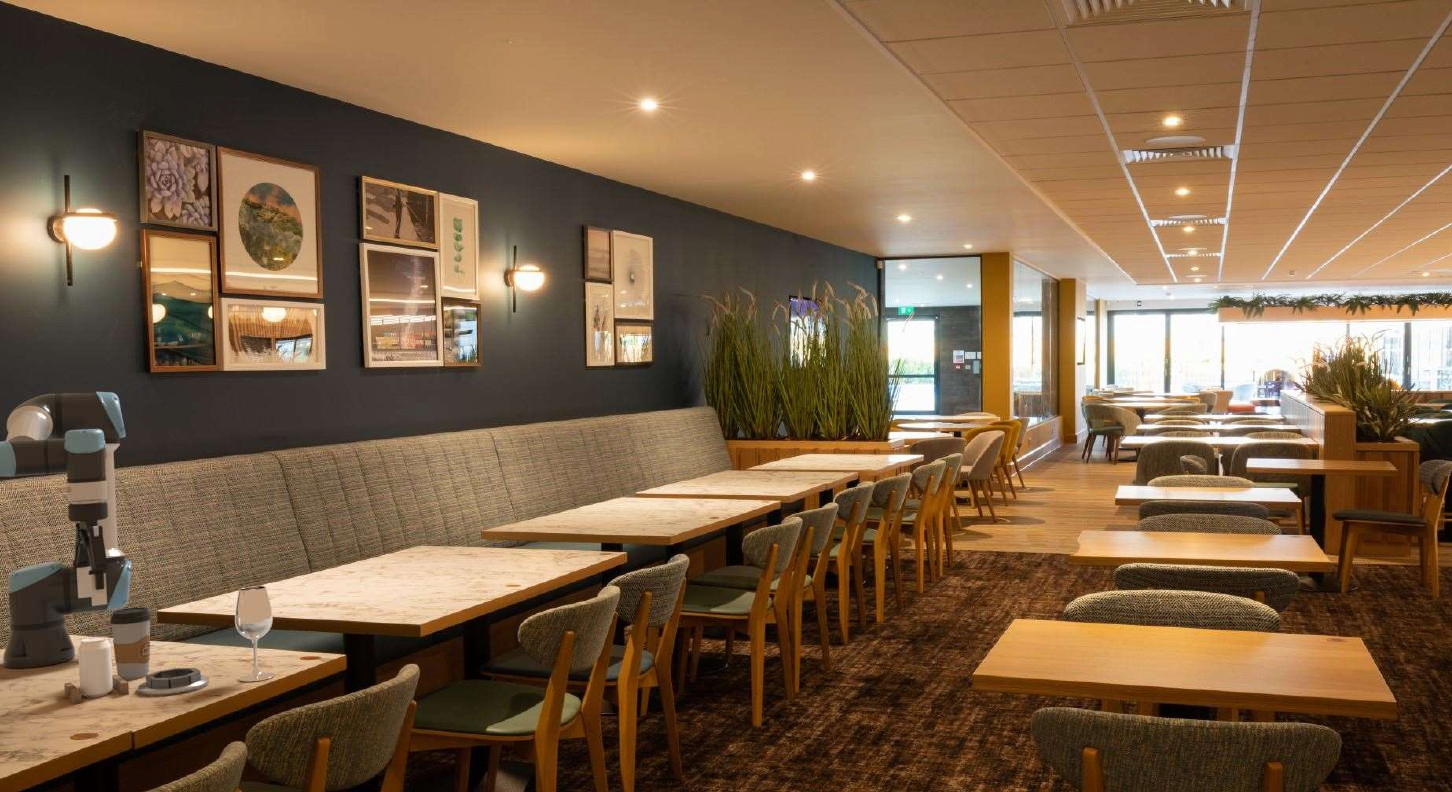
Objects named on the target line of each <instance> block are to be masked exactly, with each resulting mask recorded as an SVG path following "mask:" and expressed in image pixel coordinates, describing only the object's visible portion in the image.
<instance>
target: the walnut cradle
mask: <svg viewBox="0 0 1452 792" xmlns="http://www.w3.org/2000/svg"><path fill="white" fill-rule="evenodd" d="M112 682H113V689H114V690H115V691H116V692H118V693H119V694H120V695H121V696H127V695H129V694H130V688H129V685H130V684H129V682H128V681H126V680H124V679H123V678H121V677H120V676H118V674H112ZM81 695H82V694H81V691H80V688H78V687H76V685H74V684H73V683H72V682H65V683H64V696H65V697H67V699H68V700H70V701H71V702H72V703H73V704H74V705H77V704H81V703H82V696H81Z"/></svg>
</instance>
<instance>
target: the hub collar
mask: <svg viewBox="0 0 1452 792" xmlns="http://www.w3.org/2000/svg"><path fill="white" fill-rule="evenodd" d="M209 684H210V680H209V677H208V676H207V675H202V674H201V670H200V669H198V668H197V667H177V668H175V667H174V668H170V669H169V668H168V669H163V670H158V671H155V672H152V673H150V674H148V675H147V676H145V681H144V682H143V683H141V684H139V685H138V688H137V690H138V691H137V692H138V694H139V695H141V696H146V697H164V696H165V697H166V696H174V695H181V694H186V693H191V692H194V691H199V690H202V689H204V688H205V687H208V685H209Z"/></svg>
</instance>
